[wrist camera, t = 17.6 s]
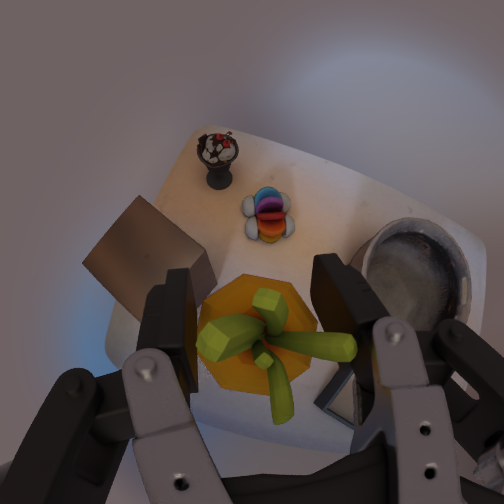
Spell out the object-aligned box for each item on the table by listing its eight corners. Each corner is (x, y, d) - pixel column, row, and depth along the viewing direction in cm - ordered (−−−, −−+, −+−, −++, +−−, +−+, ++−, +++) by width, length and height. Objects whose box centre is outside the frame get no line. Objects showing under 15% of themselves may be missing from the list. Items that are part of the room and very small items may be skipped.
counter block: (184, 324, 48) (143, 325, 24) (145, 290, 49) (81, 262, 25) (217, 283, 50) (206, 249, 27) (178, 251, 51) (139, 194, 27)
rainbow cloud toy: (247, 247, 52) (249, 236, 45) (240, 197, 54) (241, 179, 47) (294, 242, 52) (303, 230, 45) (285, 193, 55) (292, 175, 48)
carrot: (289, 320, 21) (407, 305, 7) (253, 376, 20) (304, 473, 5) (233, 283, 22) (244, 196, 7) (195, 339, 20) (125, 369, 6)
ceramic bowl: (323, 355, 48) (358, 366, 34) (328, 235, 53) (360, 205, 39) (423, 351, 49) (472, 354, 35) (423, 247, 54) (468, 225, 40)
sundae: (243, 184, 54) (248, 138, 40) (211, 199, 53) (206, 157, 39) (227, 158, 56) (226, 109, 41) (196, 172, 54) (186, 125, 40)
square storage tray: (359, 431, 45) (370, 440, 40) (313, 402, 46) (321, 410, 41) (396, 380, 48) (410, 384, 43) (353, 348, 49) (365, 350, 44)
